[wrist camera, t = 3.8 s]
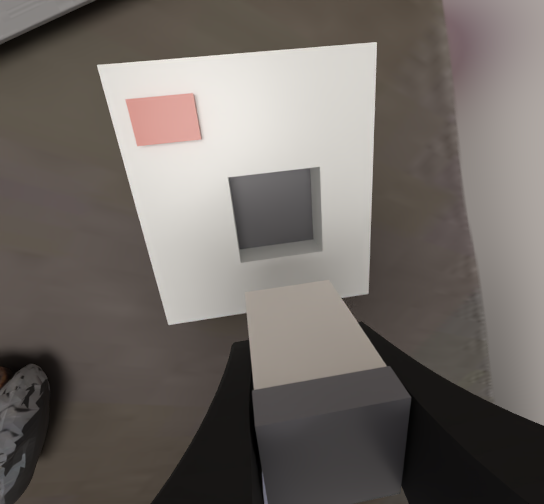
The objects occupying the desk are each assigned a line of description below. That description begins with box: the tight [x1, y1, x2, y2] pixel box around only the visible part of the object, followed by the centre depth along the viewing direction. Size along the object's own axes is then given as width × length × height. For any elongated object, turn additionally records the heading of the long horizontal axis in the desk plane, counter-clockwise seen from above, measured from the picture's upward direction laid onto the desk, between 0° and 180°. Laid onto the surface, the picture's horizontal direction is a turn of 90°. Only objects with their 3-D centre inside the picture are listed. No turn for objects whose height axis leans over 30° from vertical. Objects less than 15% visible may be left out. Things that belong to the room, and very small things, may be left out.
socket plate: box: [97, 42, 377, 325], centre depth 17 cm, size 14×13×3 cm
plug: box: [245, 280, 411, 504], centre depth 10 cm, size 4×4×6 cm
